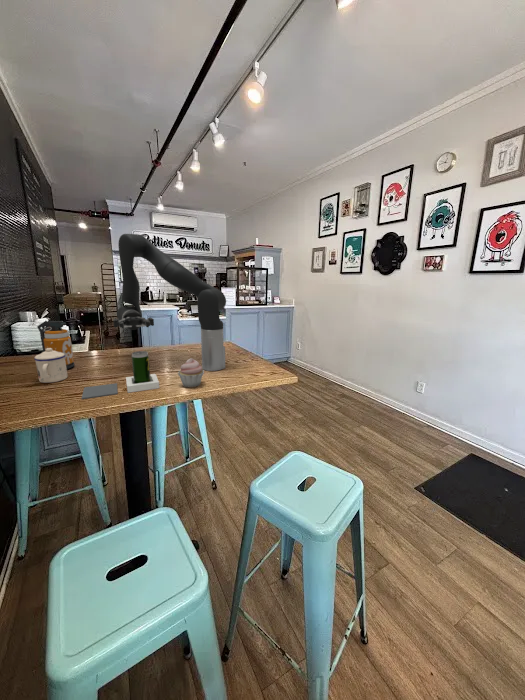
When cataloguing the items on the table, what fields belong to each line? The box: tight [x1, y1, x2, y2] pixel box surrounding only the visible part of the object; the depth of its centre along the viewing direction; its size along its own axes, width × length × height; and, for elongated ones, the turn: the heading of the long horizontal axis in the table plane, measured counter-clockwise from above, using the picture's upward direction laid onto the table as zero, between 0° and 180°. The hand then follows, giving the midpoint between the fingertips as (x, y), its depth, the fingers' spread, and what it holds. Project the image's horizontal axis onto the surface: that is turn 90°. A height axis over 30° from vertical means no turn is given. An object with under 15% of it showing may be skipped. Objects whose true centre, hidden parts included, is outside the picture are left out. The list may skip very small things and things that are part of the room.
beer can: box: [131, 350, 151, 384], centre depth 99 cm, size 5×5×12 cm
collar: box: [125, 373, 160, 393], centre depth 100 cm, size 10×10×2 cm
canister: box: [36, 319, 75, 370], centre depth 115 cm, size 9×11×20 cm
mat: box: [81, 382, 118, 400], centre depth 94 cm, size 10×10×1 cm
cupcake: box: [177, 357, 205, 388], centre depth 101 cm, size 9×9×10 cm
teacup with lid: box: [34, 348, 68, 384], centre depth 102 cm, size 12×9×12 cm
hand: (135, 325), depth 105 cm, fingers open, 8 cm apart
